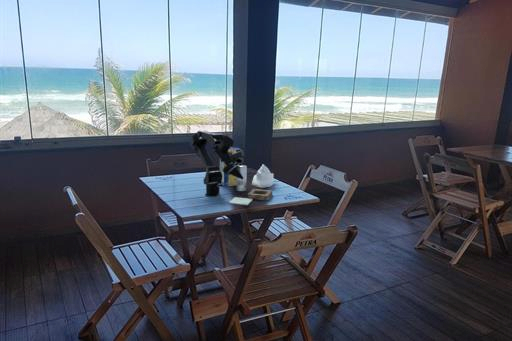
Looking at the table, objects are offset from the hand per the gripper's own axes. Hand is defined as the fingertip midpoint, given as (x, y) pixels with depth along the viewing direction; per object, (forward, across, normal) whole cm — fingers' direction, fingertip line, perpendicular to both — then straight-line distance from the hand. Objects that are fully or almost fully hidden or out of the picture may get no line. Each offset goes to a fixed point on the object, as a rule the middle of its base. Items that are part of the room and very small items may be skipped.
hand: (244, 177), depth 193 cm
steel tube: (+4, 0, +6) cm, 7 cm away
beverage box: (-3, +30, +22) cm, 38 cm away
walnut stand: (+14, +11, +5) cm, 18 cm away
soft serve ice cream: (+11, +36, +8) cm, 39 cm away
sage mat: (+8, 0, +10) cm, 13 cm away
